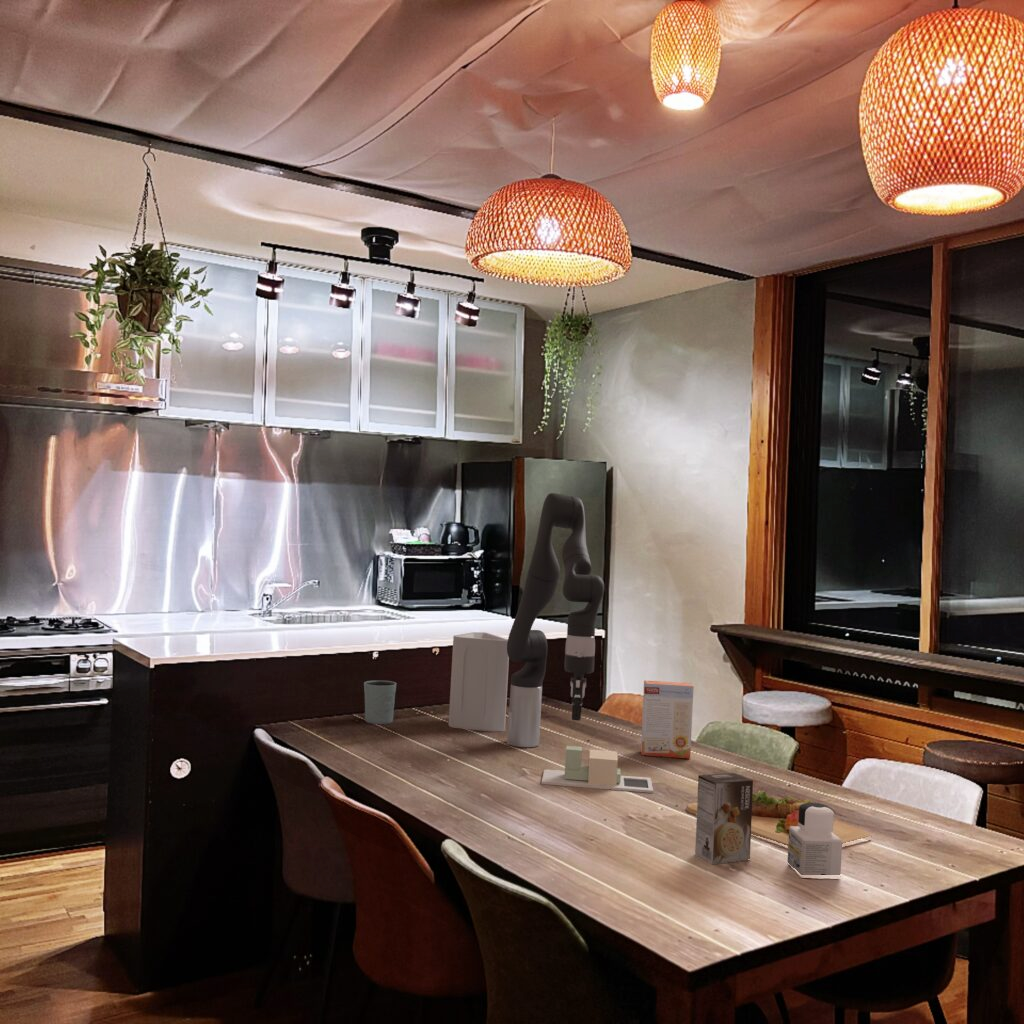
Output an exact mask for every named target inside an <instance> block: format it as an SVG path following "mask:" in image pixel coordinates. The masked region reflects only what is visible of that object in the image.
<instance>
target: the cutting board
mask: <svg viewBox="0 0 1024 1024" xmlns="http://www.w3.org/2000/svg"><path fill="white" fill-rule="evenodd" d="M805 803H815V802H813V801H812V800H811V799H804V800H802V799H797V798H795V797H793V796H789V795H786V796H785V797H782V798H775V797H773V796H772V797H769V796H768V795H767V792H766V791H765V790H758V792H756V793H753V795H752V820H751V834H753V835H756V836H760V837H763V838H766V839H770V840H773V841H776V842H778V843H782V844H784V845H787V846H788V842H789V827H790V826H798V819H799V807H800V805H802V804H805ZM685 809H686V810H687V812H688V811H689V812H688V813H690V812H691V813H690V814H692V813H694V814H693V815H695V814H697V801H696V802H693V803H687V804H686V808H685ZM798 827H799V826H798ZM832 833H834V834H835V835H836V836H837V837H839V838H840V839H841V840H842V844H843V843H846V842H850V841H854V840H857V839H861V838H865V837H868V836H871V837H872V835H871V834H870V833H869V832H867V830H863V829H861V828H857V827H855V826H852V825H849V824H845V823H842V822H840V821H836V820H834V827H833V832H832Z"/></svg>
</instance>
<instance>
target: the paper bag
mask: <svg viewBox="0 0 1024 1024" xmlns="http://www.w3.org/2000/svg"><path fill="white" fill-rule="evenodd" d="M452 637H453V638H452V639H453V641H452V657H451V659H452V660H451V671H450V672H451V676H450V691H449V694H450V695H449V710H448V711H449V712H448V726H449V727H450V728H455V729H463V730H473V731H482V732H483V731H484V732H491V733H492V732H505V731H506V719H507V717H506V716H507V702H508V701H507V698H508V683H509V682H508V681H509V667H510V666H509V665H510V663H509V662H510V661H509V660H510V658H509V657H508V654H507V641H508V638H504V637H502V636H498V635H495V634H492V633H489V632H485V631H483V632H481V631H480V632H477V631H476V632H474V631H472V632H466V633H462V634H456V635H453V636H452Z"/></svg>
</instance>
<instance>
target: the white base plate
mask: <svg viewBox="0 0 1024 1024" xmlns="http://www.w3.org/2000/svg"><path fill="white" fill-rule="evenodd" d="M588 757H589V760H588V763H589V764H588V766H589V776H588V781H585V780H572V779H564V775H565V770H558V769H546V768H545V769H544V770H543V774H542V779H541V785H550V786H551V785H552V786H564V787H575V788H577V787H578V788H585V789H586V788H587V789H597V790H598V789H599V790H600V789H601V790H609V789H611V790H612V791H621V790H623V792H635V793H648V794H649V793H650V794H654V788H653V783H652V777H647V776H646V777H644V776H635V775H634V776H633V775H621V780H620V783H617V768H618V763H619V760H618V751H613V750H601V749H589V756H588Z"/></svg>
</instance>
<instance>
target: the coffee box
mask: <svg viewBox="0 0 1024 1024" xmlns="http://www.w3.org/2000/svg"><path fill="white" fill-rule="evenodd" d="M697 776H698V778H697V779H698V783H697V801H696V802H697V815H696V822H695V823H696V825H695V827H696V830H695V845H694V846H695V847H694V849H695V850H694V855H695V856H697V855H698V856H697V857H700V858H701V859H702V860H705V861H706V862H708V863H709V862H710V863H709V864H711V865H719V864H720V863H721V864H727V863H728V862H730V863H735V862H734V861H738V862H742V861H741V860H747V861H749V860H748V859H750V860H751V841H752V840H751V839H752V836H751V820H752V795H753V794H754V793H753V792H754V790H753V788H754V780H752V779H750V778H748V777H746V776H743V775H740V774H739V773H735V772H729V773H713V774H712V773H711V774H698V775H697Z"/></svg>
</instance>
